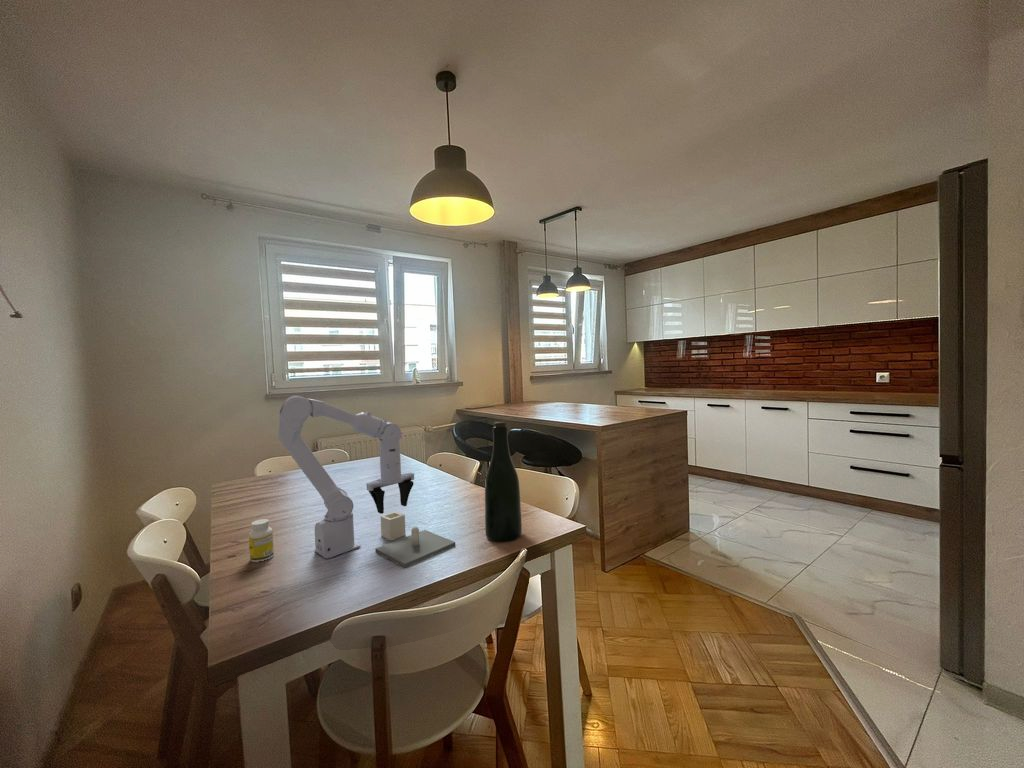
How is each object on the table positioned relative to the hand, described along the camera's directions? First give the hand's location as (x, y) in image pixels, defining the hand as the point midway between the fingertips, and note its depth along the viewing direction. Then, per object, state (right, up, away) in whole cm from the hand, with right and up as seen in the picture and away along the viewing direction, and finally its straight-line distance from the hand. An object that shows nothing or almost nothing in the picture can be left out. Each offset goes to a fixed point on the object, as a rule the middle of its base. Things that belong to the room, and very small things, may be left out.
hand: (392, 509), depth 118 cm
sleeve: (0, -8, 0) cm, 8 cm away
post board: (+9, -8, -9) cm, 15 cm away
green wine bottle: (+33, -7, -3) cm, 34 cm away
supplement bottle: (-31, -10, -12) cm, 35 cm away
